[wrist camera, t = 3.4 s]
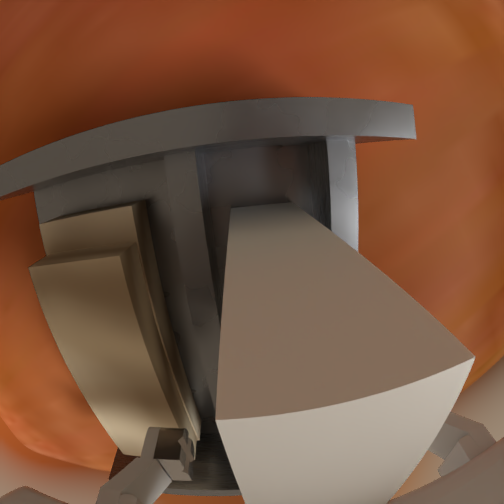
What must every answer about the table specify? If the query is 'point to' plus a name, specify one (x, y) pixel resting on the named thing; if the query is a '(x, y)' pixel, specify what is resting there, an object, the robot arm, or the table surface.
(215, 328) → the rack
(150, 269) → the offcut stack
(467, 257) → the table surface
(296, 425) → the cream slab
